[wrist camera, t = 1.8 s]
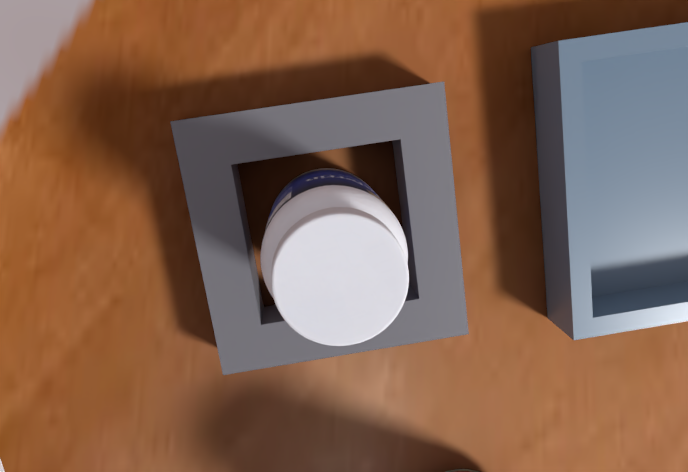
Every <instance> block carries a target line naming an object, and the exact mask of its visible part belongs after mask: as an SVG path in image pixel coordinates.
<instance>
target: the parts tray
mask: <svg viewBox="0 0 688 472" xmlns="http://www.w3.org/2000/svg"><path fill="white" fill-rule="evenodd" d="M531 61H532V77H533V93H534V109H535V125H536V141H537V157H538V173H539V189H540V205H541V220H542V236H543V252H544V268H545V284H546V300H547V316H548V319H549V320H551V321H552V322H553V323H554V324H555V325H556V326H558V327H559V328H560V329H561V330H562V331H564V332H565V333H566V334H567V335H568V336H569V337H571V338H572V339H573V340H578V339H584V338H590V337H596V336H602V335H608V334H614V333H619V332H625V331H631V330H637V329H643V328H649V327H655V326H661V325H667V324H673V323H679V322H684V321H688V22H686V23H679V24H672V25H665V26H658V27H651V28H644V29H637V30H630V31H623V32H616V33H609V34H602V35H595V36H588V37H581V38H574V39H567V40H560V41H555V42H551V43H547V44H543V45H539V46H535V47H531Z"/></svg>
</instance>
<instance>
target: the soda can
mask: <svg viewBox="0 0 688 472" xmlns="http://www.w3.org/2000/svg"><path fill="white" fill-rule="evenodd" d="M446 472H479V471H475V470H469V469H456V470H450V471H446Z"/></svg>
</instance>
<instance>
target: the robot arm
mask: <svg viewBox="0 0 688 472" xmlns="http://www.w3.org/2000/svg"><path fill="white" fill-rule="evenodd" d="M0 472H4V469H3V465H2V462H1V459H0Z"/></svg>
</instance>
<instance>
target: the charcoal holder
mask: <svg viewBox="0 0 688 472" xmlns="http://www.w3.org/2000/svg"><path fill="white" fill-rule="evenodd" d="M170 123H171V127H172V132H173V137H174V142H175V147H176V151H177V156H178V161H179V166H180V171H181V175H182V180H183V185H184V190H185V195H186V199H187V204H188V209H189V214H190V219H191V223H192V228H193V233H194V238H195V243H196V247H197V252H198V257H199V262H200V266H201V271H202V276H203V281H204V286H205V290H206V295H207V300H208V305H209V310H210V314H211V319H212V324H213V329H214V334H215V338H216V343H217V348H218V353H219V358H220V362H221V367H222V372H223V375H227V374H233V373H239V372H245V371H251V370H257V369H263V368H269V367H274V366H280V365H286V364H292V363H298V362H304V361H310V360H316V359H322V358H328V357H334V356H340V355H346V354H352V353H358V352H364V351H370V350H376V349H382V348H388V347H394V346H400V345H406V344H412V343H418V342H424V341H430V340H436V339H442V338H448V337H454V336H460V335H466V334H469V332H468V322H467V312H466V302H465V291H464V281H463V271H462V261H461V250H460V240H459V230H458V220H457V209H456V199H455V189H454V179H453V168H452V158H451V148H450V138H449V127H448V117H447V107H446V97H445V86H444V82H438V83H431V84H424V85H417V86H410V87H404V88H397V89H390V90H383V91H376V92H369V93H362V94H355V95H349V96H342V97H335V98H328V99H321V100H314V101H307V102H301V103H294V104H287V105H280V106H273V107H266V108H259V109H252V110H246V111H239V112H232V113H225V114H218V115H211V116H204V117H198V118H191V119H184V120H177V121H170ZM385 141H392V144H393V152H394V160H395V168H396V177H397V185H398V193H399V202H400V210H401V218H402V226H403V232H404V235H405V238H406V243H407V249H408V270H409V286H408V292H407V296H406V299H405V302H404V304H403V307H402V308H401V310H400V312H399V314H398V315H397V317H396V318H395V319H394V320H393V322H392V323H391V324H390V325H389V326H388V327H387V328H386V329H384V330H383V331H382V332H381V333H379V334H378V335H376V336H374V337H373V338H371V339H368V340H366V341H364V342H361V343H357V344H353V345H346V346H331V345H325V344H320V343H317V342H314V341H312V340H309V339H307V338H305V337H303V336H302V335H300V334H299V333H297V332H296V331H295V330H294V329H293V328H291V327H290V326H289V325H288V323H287V322H286V321H285V320H284V319H283V317H282V316H281V314H280V312H279V311H278V309H277V307H276V305H271V306H265V307H264V305H263V300H262V294H261V289H260V283H259V278H258V273H257V267H256V262H255V256H254V251H253V246H252V240H251V235H250V229H249V224H248V219H247V213H246V208H245V202H244V197H243V191H242V186H241V181H240V175H239V170H238V164H239V163H245V162H252V161H259V160H265V159H272V158H279V157H285V156H292V155H299V154H305V153H312V152H319V151H325V150H332V149H339V148H345V147H352V146H359V145H365V144H372V143H379V142H385Z"/></svg>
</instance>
